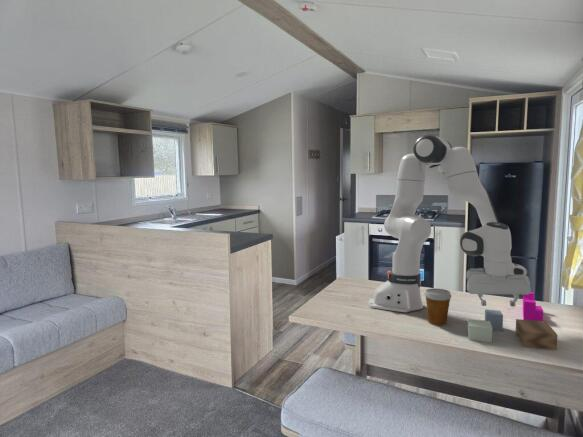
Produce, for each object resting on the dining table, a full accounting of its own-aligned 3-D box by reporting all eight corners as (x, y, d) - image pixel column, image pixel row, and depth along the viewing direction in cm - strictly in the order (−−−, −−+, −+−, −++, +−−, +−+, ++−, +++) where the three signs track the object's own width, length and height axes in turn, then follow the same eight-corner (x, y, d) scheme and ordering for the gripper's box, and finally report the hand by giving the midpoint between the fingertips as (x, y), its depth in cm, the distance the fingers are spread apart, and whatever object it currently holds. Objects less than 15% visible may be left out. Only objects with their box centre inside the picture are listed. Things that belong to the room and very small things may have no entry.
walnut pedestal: (524, 346, 128) (524, 331, 128) (515, 333, 139) (516, 319, 139) (556, 349, 125) (557, 334, 125) (545, 335, 137) (545, 321, 136)
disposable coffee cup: (453, 327, 145) (454, 295, 144) (426, 326, 147) (426, 294, 146) (448, 318, 155) (448, 288, 154) (422, 317, 156) (422, 287, 155)
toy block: (542, 323, 149) (543, 303, 148) (523, 320, 152) (524, 301, 151) (540, 311, 162) (541, 293, 161) (522, 309, 165) (523, 291, 164)
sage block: (468, 340, 135) (469, 325, 134) (467, 332, 141) (467, 318, 141) (491, 342, 132) (492, 328, 132) (489, 335, 139) (489, 321, 138)
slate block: (486, 330, 143) (487, 313, 142) (484, 325, 147) (485, 309, 147) (502, 331, 141) (503, 315, 141) (499, 326, 146) (500, 310, 145)
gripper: (467, 270, 142) (468, 307, 144) (532, 270, 137) (532, 309, 138) (464, 266, 148) (465, 302, 150) (526, 265, 143) (526, 303, 144)
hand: (498, 305), depth 144 cm, fingers open, 8 cm apart
